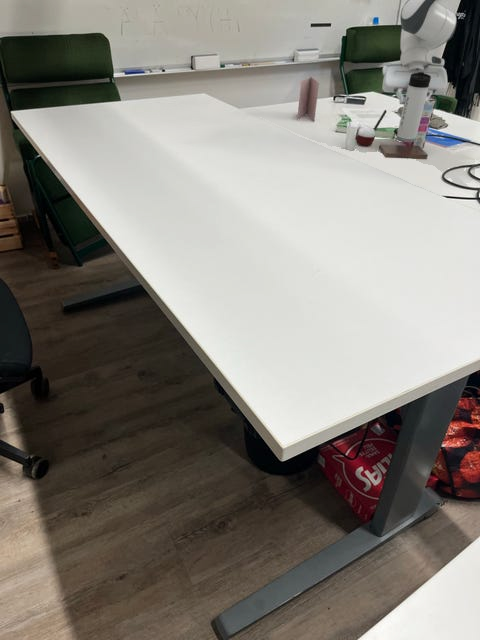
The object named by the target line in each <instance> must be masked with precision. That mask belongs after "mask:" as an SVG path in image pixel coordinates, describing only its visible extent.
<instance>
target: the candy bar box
mask: <svg viewBox="0 0 480 640" xmlns="http://www.w3.org/2000/svg"><path fill="white" fill-rule="evenodd" d="M426 98H427V97H426ZM436 102H437V100H436V99H434V98H432V97H430V98H429V104H428V105H427V106H425V105H424V108H423V112H422V116H421V120H420V124H419V128H418V132H417V135H416V140H415V141H414V142H402V141H400V142H401V143H402V144H403V145H409V146H420V147H421V148H422V149H423V150H424V147H425V144H426V140H427V136H428V133H429V129H430V125H431V121H432V117H433V114H434V110H435V107H436Z"/></svg>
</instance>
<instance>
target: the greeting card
mask: <svg viewBox="0 0 480 640" xmlns="http://www.w3.org/2000/svg"><path fill="white" fill-rule="evenodd" d="M319 85H320V82H319V81H317V80H316V79H315V78H313V77H312V76H309V77H308V78H306V79H304V80H302V81H300V86H299V87H300V89H299V99H298V109H297V116H296V117H297V120H298V119H299V120H300V118H301V117H302V118H304V117H305V116H308V117H309V119H310V120H311V121H313V122H315V119H316V112H317V111H316V110H317V103H318V93H319V88H320V87H319ZM306 114H307V115H306ZM303 116H304V117H303ZM302 118H301V119H302ZM297 120H296V121H297ZM299 120H298V121H299Z"/></svg>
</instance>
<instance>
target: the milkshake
mask: <svg viewBox="0 0 480 640" xmlns="http://www.w3.org/2000/svg"><path fill="white" fill-rule="evenodd" d="M361 126H362V125H361V124H360V123H359V122H358V121H350V120H348V122H347V123H346V134H345V146H344V150H345V149H346V150H345V151H347V150H349V151H348V152H354V151H355V148H356V145H357V143H356V142H357V137H358V134H359V130H360V128H362V127H361ZM353 150H354V151H353Z"/></svg>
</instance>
